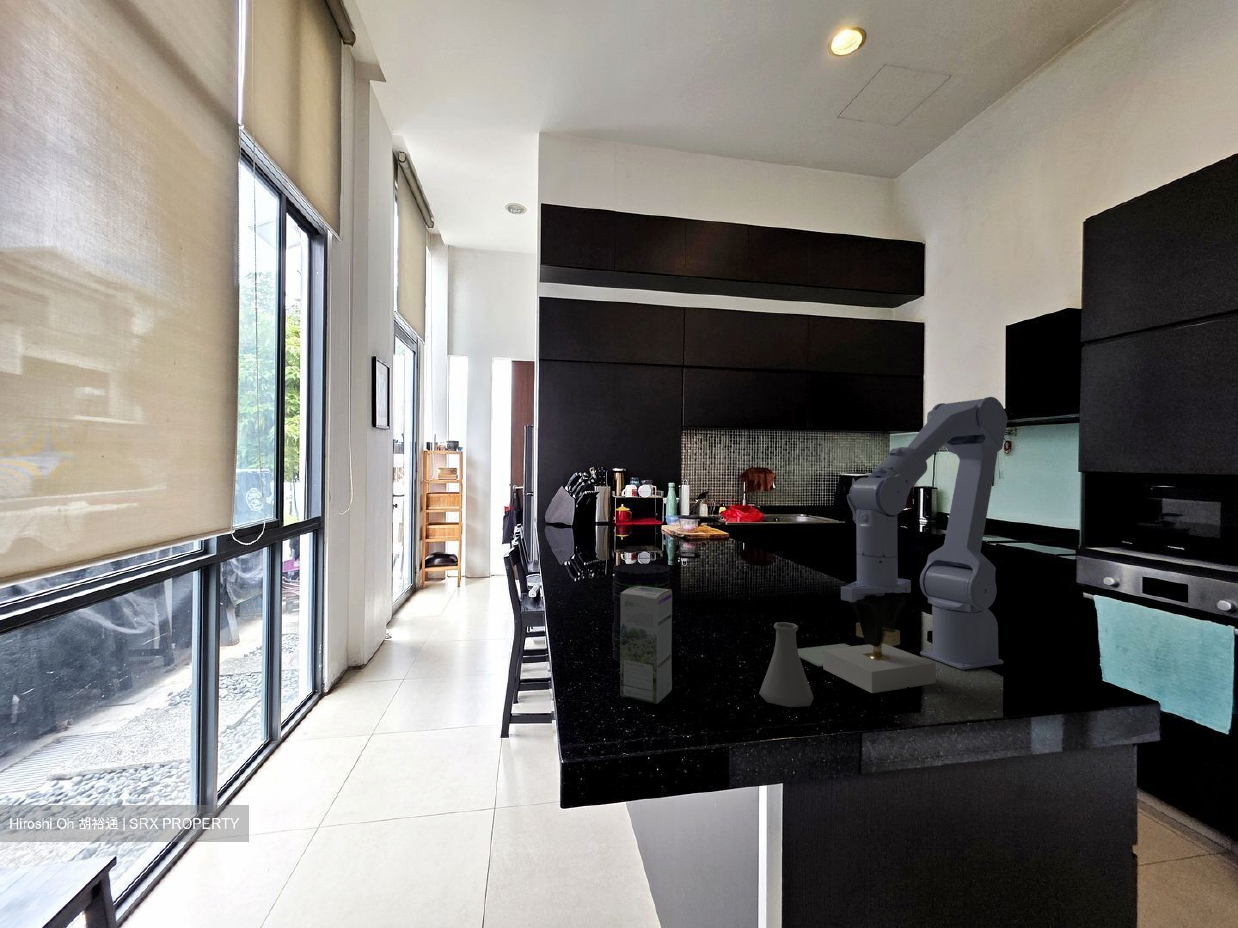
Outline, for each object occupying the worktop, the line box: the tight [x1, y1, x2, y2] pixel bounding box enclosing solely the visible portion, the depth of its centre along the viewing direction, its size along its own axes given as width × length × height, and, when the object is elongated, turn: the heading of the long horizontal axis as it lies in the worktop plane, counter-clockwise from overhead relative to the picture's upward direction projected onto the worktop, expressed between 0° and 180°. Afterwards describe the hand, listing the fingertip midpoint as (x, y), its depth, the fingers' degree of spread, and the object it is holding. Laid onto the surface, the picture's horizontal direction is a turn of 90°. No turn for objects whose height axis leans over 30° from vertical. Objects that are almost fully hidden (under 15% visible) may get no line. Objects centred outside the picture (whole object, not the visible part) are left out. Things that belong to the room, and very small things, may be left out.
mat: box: [797, 643, 852, 667], centre depth 90 cm, size 12×8×1 cm, turn 109°
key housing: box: [822, 643, 937, 694], centre depth 81 cm, size 12×10×3 cm
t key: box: [855, 621, 901, 661], centre depth 81 cm, size 6×2×8 cm, turn 30°
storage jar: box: [611, 562, 671, 663], centre depth 90 cm, size 10×10×15 cm
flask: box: [758, 621, 814, 708], centre depth 73 cm, size 7×7×10 cm
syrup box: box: [619, 586, 673, 705], centre depth 74 cm, size 6×6×14 cm
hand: (877, 643), depth 81 cm, fingers closed on t key, 2 cm apart
